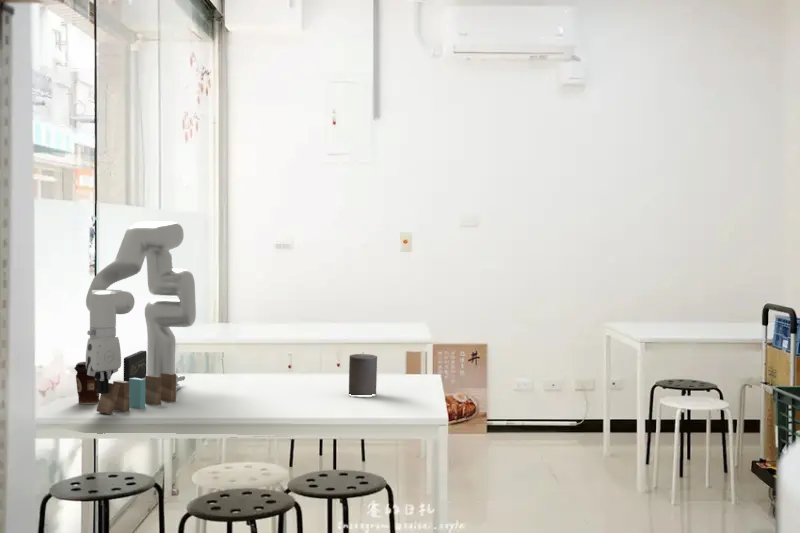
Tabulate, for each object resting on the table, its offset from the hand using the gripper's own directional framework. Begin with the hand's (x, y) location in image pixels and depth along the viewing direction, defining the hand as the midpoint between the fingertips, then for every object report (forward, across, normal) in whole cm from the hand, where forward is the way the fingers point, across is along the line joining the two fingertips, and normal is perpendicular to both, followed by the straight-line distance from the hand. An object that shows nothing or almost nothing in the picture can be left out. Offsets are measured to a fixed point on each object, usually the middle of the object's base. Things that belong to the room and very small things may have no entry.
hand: (102, 393), depth 271 cm
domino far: (+6, +1, 0) cm, 6 cm away
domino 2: (+6, +14, 0) cm, 15 cm away
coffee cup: (+7, +9, +18) cm, 21 cm away
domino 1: (+6, +7, 0) cm, 9 cm away
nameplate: (+7, +47, +39) cm, 62 cm away
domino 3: (+6, +20, 0) cm, 21 cm away
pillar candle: (+7, +73, -46) cm, 86 cm away
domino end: (+6, +26, 0) cm, 27 cm away
